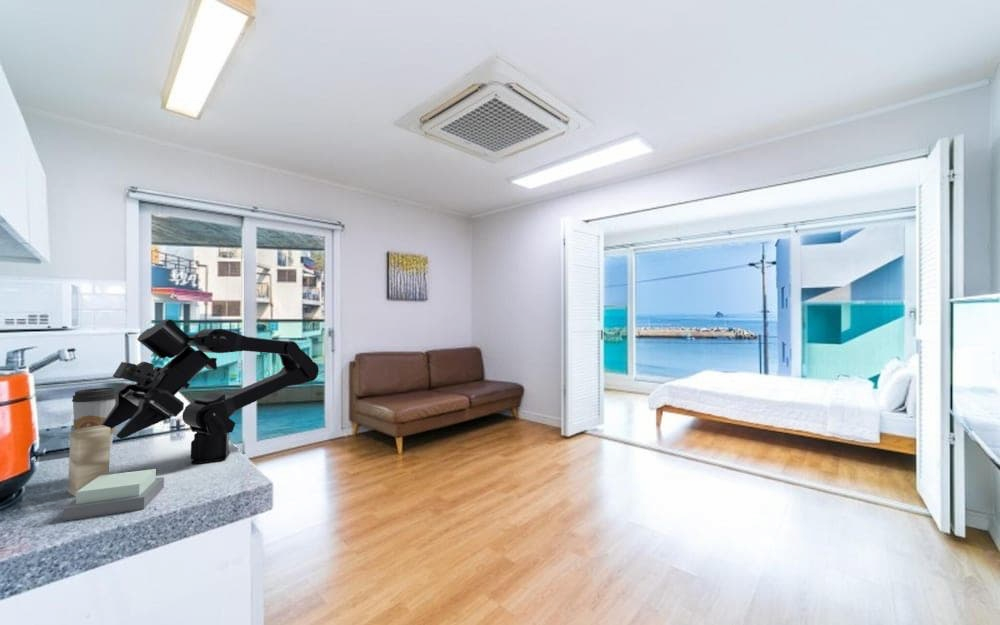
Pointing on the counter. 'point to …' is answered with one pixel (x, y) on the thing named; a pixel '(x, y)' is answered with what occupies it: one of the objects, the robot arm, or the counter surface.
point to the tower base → (113, 504)
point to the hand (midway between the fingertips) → (109, 434)
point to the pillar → (88, 456)
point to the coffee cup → (93, 407)
